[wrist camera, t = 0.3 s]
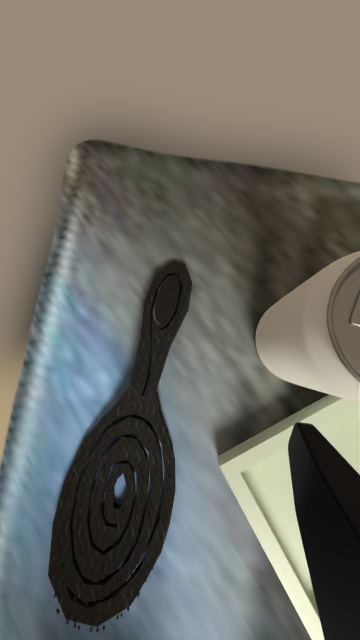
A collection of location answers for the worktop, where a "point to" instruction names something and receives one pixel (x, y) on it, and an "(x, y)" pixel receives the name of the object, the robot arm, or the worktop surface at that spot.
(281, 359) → the can
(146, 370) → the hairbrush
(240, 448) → the tray
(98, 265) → the worktop surface
